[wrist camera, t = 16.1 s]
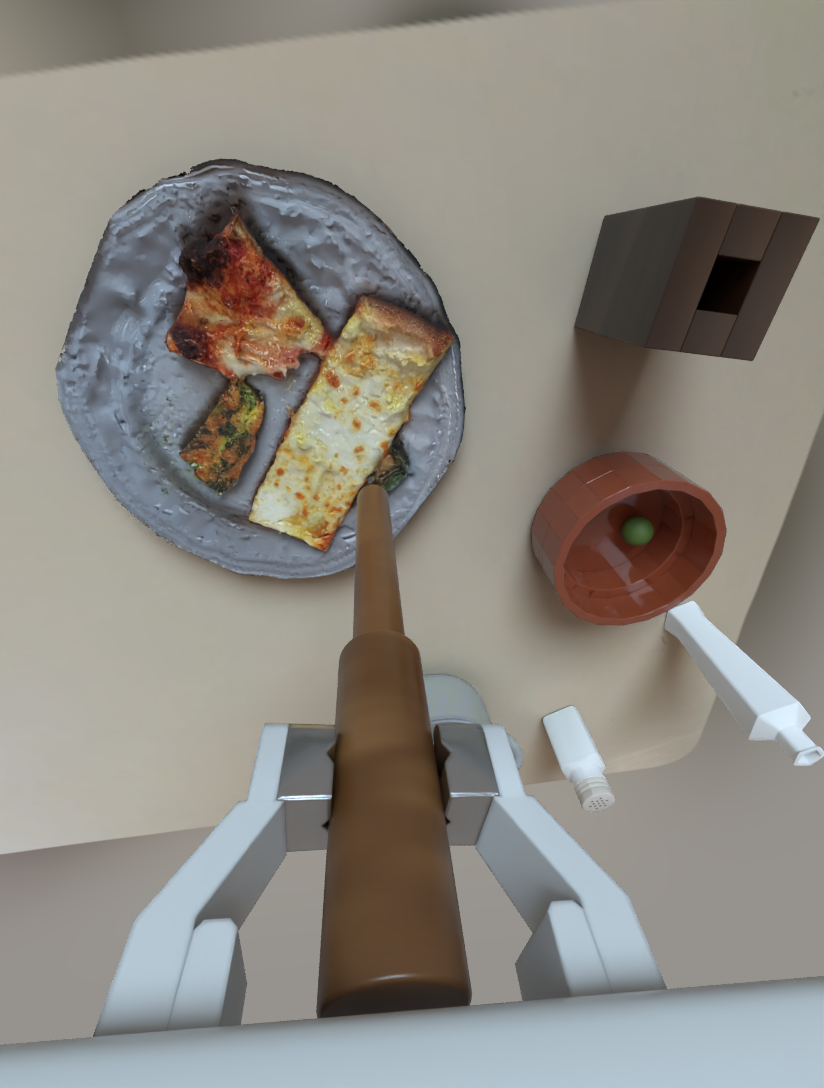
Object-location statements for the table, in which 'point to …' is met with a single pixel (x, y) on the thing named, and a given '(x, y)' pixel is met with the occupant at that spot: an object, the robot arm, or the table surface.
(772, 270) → the utensil block
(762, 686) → the white faceted bottle
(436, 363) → the food plate
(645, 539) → the bead
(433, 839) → the stirring stick
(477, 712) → the teacup
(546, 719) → the salt shaker
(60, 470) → the table surface
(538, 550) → the bowl
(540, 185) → the table surface
